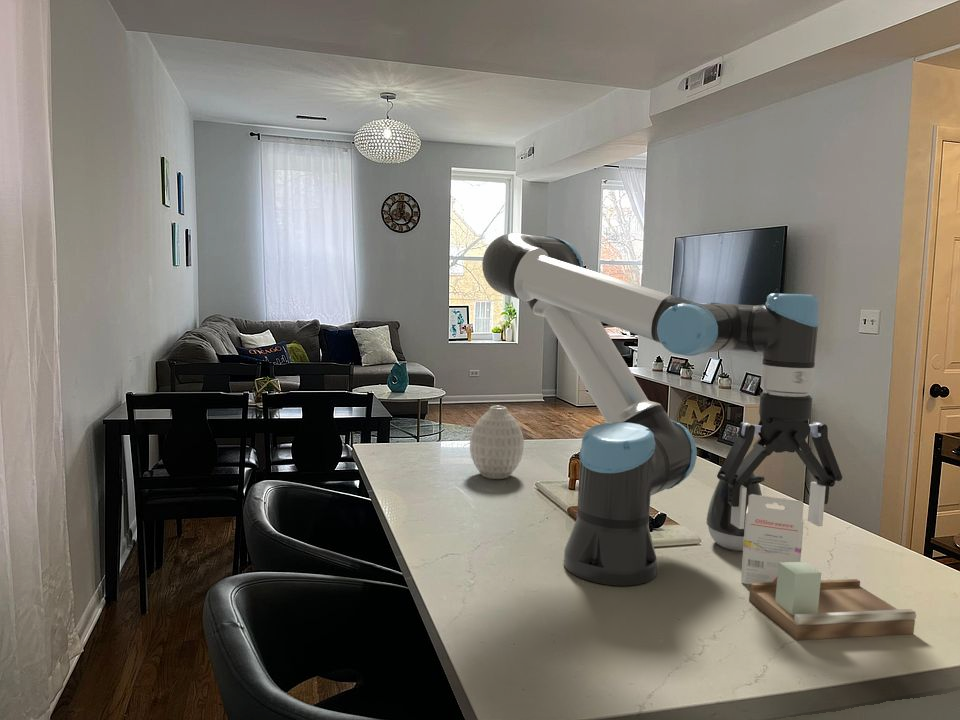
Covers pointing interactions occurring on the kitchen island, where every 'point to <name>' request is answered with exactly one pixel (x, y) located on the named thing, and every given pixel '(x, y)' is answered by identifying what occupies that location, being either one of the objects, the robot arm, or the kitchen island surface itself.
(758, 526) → the ink cartridge box
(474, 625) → the kitchen island surface
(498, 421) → the vase
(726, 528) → the pump dispenser
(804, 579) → the pale green block
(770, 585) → the brown wooden tray
